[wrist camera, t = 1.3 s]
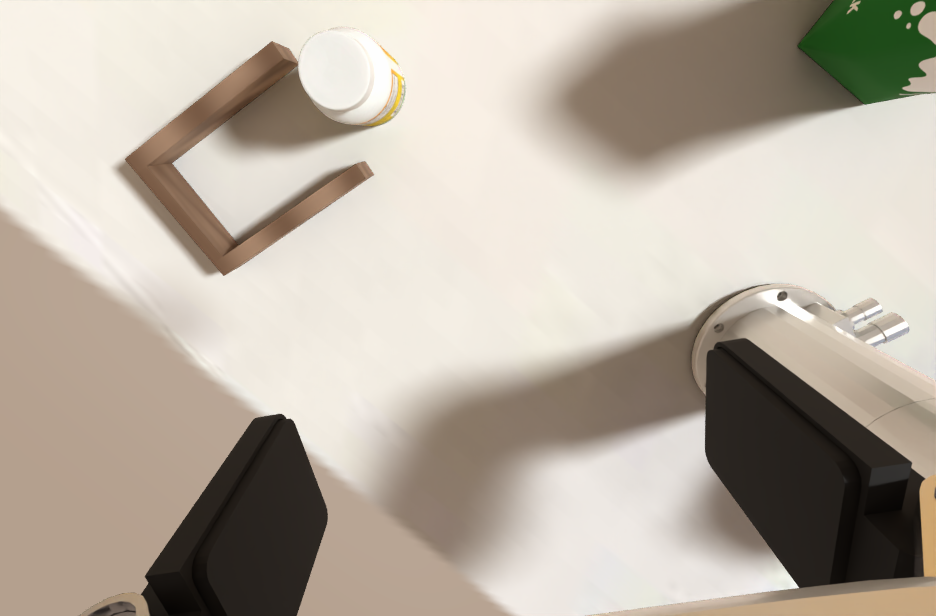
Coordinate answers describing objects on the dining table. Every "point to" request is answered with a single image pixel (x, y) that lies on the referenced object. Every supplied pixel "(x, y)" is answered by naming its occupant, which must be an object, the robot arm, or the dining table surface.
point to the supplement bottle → (351, 77)
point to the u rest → (198, 124)
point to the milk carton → (877, 47)
